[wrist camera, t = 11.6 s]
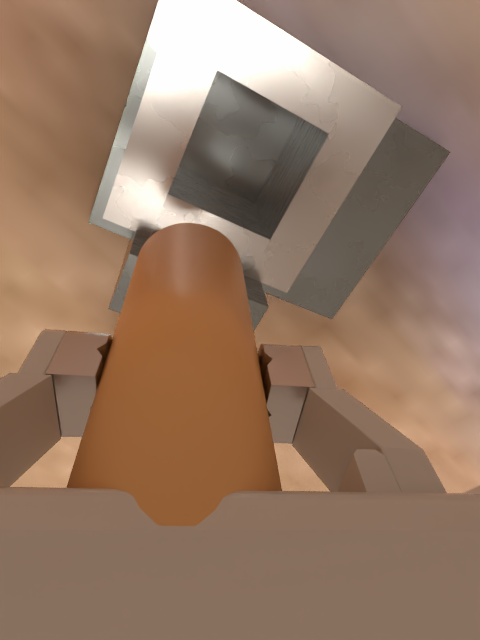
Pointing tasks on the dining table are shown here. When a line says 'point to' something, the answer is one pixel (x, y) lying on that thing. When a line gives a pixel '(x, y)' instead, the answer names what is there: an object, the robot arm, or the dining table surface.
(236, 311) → the orange rounded cylinder
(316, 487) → the dining table surface
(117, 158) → the mount
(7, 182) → the dining table surface
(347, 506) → the robot arm
